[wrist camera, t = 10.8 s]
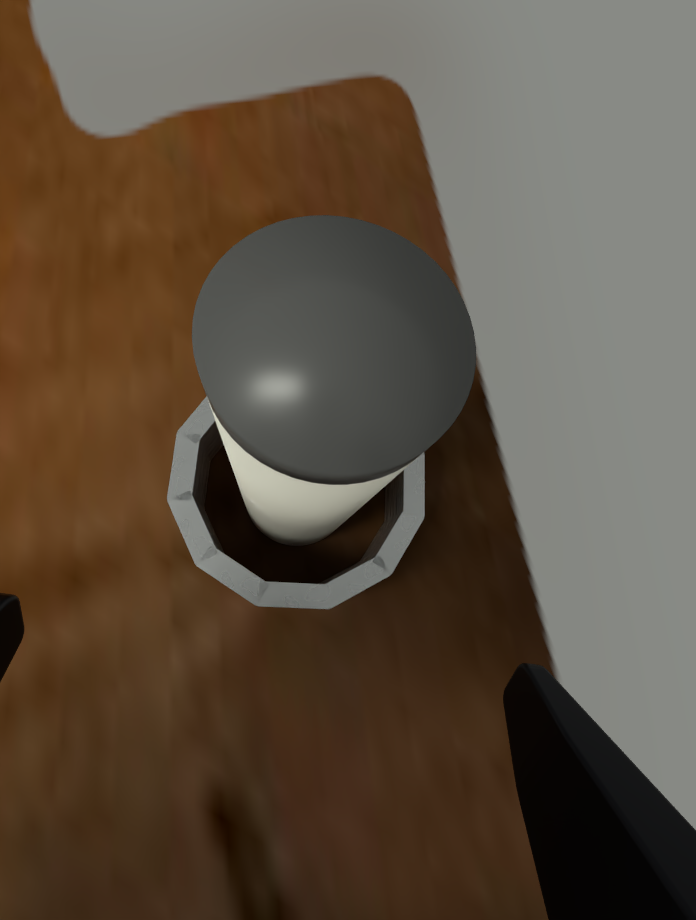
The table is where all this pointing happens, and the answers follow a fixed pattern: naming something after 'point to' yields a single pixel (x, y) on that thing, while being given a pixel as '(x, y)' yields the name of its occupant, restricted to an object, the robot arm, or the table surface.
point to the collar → (378, 563)
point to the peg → (328, 366)
